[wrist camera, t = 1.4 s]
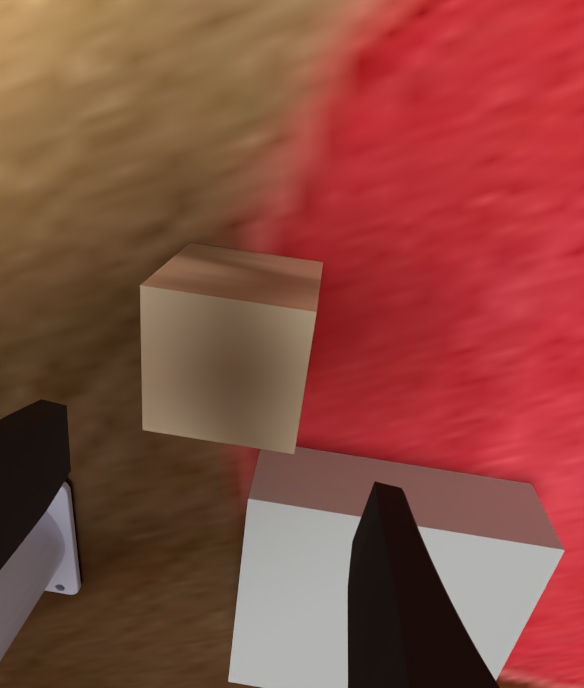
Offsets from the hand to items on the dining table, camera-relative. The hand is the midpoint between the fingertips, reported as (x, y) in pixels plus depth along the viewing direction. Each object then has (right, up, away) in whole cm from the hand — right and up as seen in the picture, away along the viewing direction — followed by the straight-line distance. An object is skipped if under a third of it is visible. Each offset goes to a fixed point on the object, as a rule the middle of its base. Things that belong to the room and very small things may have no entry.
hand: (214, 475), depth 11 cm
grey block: (+6, -7, +13) cm, 16 cm away
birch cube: (0, +4, +8) cm, 9 cm away
